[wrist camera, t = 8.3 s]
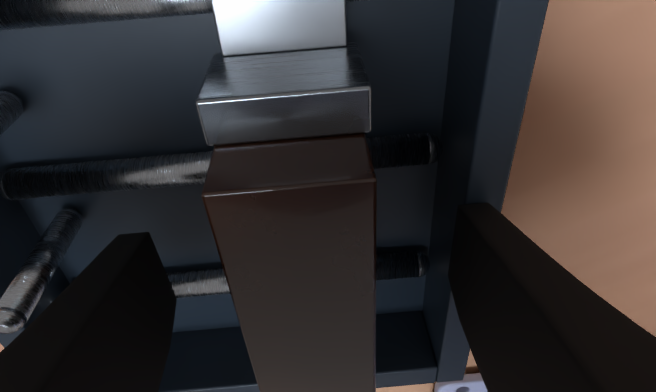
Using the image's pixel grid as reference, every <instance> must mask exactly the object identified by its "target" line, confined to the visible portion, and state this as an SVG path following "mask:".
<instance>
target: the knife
mask: <svg viewBox="0 0 656 392" xmlns="http://www.w3.org/2000/svg"><path fill="white" fill-rule="evenodd" d="M210 1H211V6H212V10H213V15H214V20H215V25H216V29H217V34H218V39H219V44H220V48H221V53H215V54H214V55H213V57H212V60H211V62H210V65H209V67H208V70H207V73H206V75H205V78H204V80H203V83H202V85H201V88H200V90H199V93H198V95H197V98H196V100H195V105H196V109H197V112H198V116H199V120H200V124H201V127H202V131H203V135H204V139H205V142H206V144H207V146H214V149H213V153H212V157H211V160H210V164H209V168H208V171H207V175H206V179H205V182H204V186H203V190H202V194H201V197H202V200H203V203H204V207H205V210H206V213H207V217H208V220H209V223H210V227H211V230H212V233H213V237H214V240H215V243H216V247H217V250H218V254H219V257H220V260H221V264H222V267H223V270H224V274H225V277H226V280H227V284H228V287H229V290H230V294H231V297H232V300H233V304H234V307H235V310H236V314H237V317H238V320H239V324H240V327H241V331H242V334H243V337H244V341H245V344H246V347H247V351H248V354H249V357H250V361H251V364H252V367H253V371H254V374H255V377H256V381H257V384H258V387H259V391H260V392H376V218H377V179H376V176H375V172H374V168H373V164H372V160H371V156H370V152H369V148H368V144H367V140H366V136H365V133H369V132H371V129H372V88H371V85H370V82H369V79H368V76H367V72H366V69H365V66H364V63H363V60H362V57H361V54H360V51H359V48H358V45H357V43H356V42H347V26H346V0H210Z"/></svg>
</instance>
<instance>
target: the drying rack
mask: <svg viewBox="0 0 656 392" xmlns="http://www.w3.org/2000/svg"><path fill="white" fill-rule="evenodd" d="M548 2H549V0H346V26H347V42H356V43H357V45H358V48H359V51H360V54H361V57H362V60H363V63H364V66H365V69H366V72H367V76H368V79H369V82H370V85H371V88H372V129H371V132H369V133H365V136H366V140H367V144H368V148H369V152H370V156H371V160H372V164H373V168H374V172H375V176H376V179H377V218H376V388H382V387H393V386H404V385H415V384H426V383H434V382H438V383H440V382H451V381H462V380H463V378H464V373H465V369H466V365H467V360H468V356H469V351H470V346H469V344H468V341H467V339H466V336H465V334H464V331H463V328H462V326H461V323H460V320H459V317H458V313H457V310H456V306H455V302H454V299H453V295H452V291H451V287H450V283H449V279H448V269H449V262H450V256H451V249H452V242H453V235H454V228H455V222H456V215H457V208H458V205H465V204H477V203H489V204H491V205H492V206H493V207H494V208H495V209H496V210H498V211H499V212H500V213H501V210H502V205H503V201H504V197H505V192H506V188H507V183H508V179H509V174H510V170H511V166H512V161H513V157H514V152H515V148H516V144H517V139H518V135H519V130H520V126H521V121H522V117H523V113H524V108H525V104H526V99H527V95H528V91H529V86H530V82H531V77H532V73H533V68H534V64H535V60H536V55H537V51H538V46H539V42H540V37H541V33H542V29H543V24H544V20H545V15H546V11H547V7H548ZM215 53H221V48H220V44H219V39H218V34H217V29H216V25H215V20H214V15H213V10H212V6H211V1H210V0H0V343H1V344H2V345H3V347H4V348H6V347H7V346H8V345H9V344H10V343H11V342H12V341H13V340H14V339H15V338H16V337H17V336H18V335H19V334H20V333H21V332H23V331H24V330H25V329H26V328H27V327H28V326H29V325H30V324H31V323H32V322H33V321H34V320H35V319H36V318H37V317H38V316H39V315H40V314H41V313H42V312H43V311H44V310H45V309H46V308H47V307H48V306H49V305H50V304H51V303H52V302H53V301H54V300H55V299H56V298H57V297H58V296H59V295H60V294H61V293H62V292H63V291H64V290H65V289H66V288H67V287H68V286H69V285H70V284H71V283H72V281H73V280H74V279H75V278H76V277H77V276H78V275H79V274H80V273H81V272H82V271H83V270H84V269H85V268H86V267H87V266H88V265H89V264H90V263H91V262H92V261H93V260H94V259H95V258H96V257H97V256H98V254H99V253H100V252H101V251H102V250H103V249H104V248H105V247H106V246H107V245H108V244H109V243H110V242H111V241H112V240H113V239H114V238H116V237H117V236H118V235H119V234H129V233H141V232H149V233H150V235H151V238H152V240H153V242H154V245H155V247H156V250H157V252H158V254H159V257H160V259H161V262H162V264H163V266H164V269H165V271H166V274H167V276H168V279H169V281H170V283H171V286H172V288H173V291H174V293H175V295H176V298H177V302H176V310H175V318H174V326H173V332H172V338H171V345H170V349H169V353H168V357H167V361H166V364H165V368H164V372H163V375H162V379H161V383H160V386H159V390H158V392H260V391H259V387H258V384H257V381H256V377H255V374H254V371H253V367H252V364H251V361H250V357H249V354H248V351H247V347H246V344H245V341H244V337H243V334H242V331H241V327H240V324H239V320H238V317H237V314H236V310H235V307H234V304H233V300H232V297H231V294H230V290H229V287H228V284H227V280H226V277H225V274H224V270H223V267H222V264H221V260H220V257H219V254H218V250H217V247H216V243H215V240H214V237H213V233H212V230H211V227H210V223H209V220H208V217H207V213H206V210H205V207H204V203H203V200H202V197H201V194H202V190H203V186H204V182H205V179H206V175H207V171H208V168H209V164H210V160H211V157H212V153H213V149H214V146H207V144H206V142H205V139H204V135H203V131H202V127H201V124H200V120H199V116H198V112H197V109H196V105H195V100H196V98H197V95H198V93H199V90H200V88H201V85H202V83H203V80H204V78H205V75H206V73H207V70H208V67H209V65H210V62H211V60H212V57H213V55H214V54H215Z"/></svg>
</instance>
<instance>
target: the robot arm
mask: <svg viewBox="0 0 656 392" xmlns="http://www.w3.org/2000/svg"><path fill="white" fill-rule="evenodd" d="M448 279H449V283H450V287H451V291H452V295H453V299H454V302H455V306H456V310H457V313H458V317H459V320H460V323H461V326H462V328H463V331H464V334H465V336H466V339H467V341H468V344H469V346H470V349H471V351H472V354H473V357H474V359H475V362H476V364H477V367H478V369H479V372H480V373H473V374H464V378H463V380H462V381H451V382H440V383H438V382H436V383H435V388H434V392H656V337H655V336H653V335H652V334H650V333H649V332H647V331H646V330H645V329H643V328H642V327H640V326H639V325H637V324H636V323H635V322H633V321H632V320H631V319H629V318H628V317H627V316H625V315H624V314H623V313H621V312H620V311H619V310H617V309H616V308H614V307H613V306H612V305H610V304H609V303H608V302H606V301H605V300H604V299H602V298H601V297H600V296H598V295H597V294H596V293H595V292H593V291H592V290H591V289H590V288H588V287H587V286H586V285H584V284H583V283H582V282H581V281H579V280H578V279H577V278H576V277H574V276H573V275H572V274H571V273H569V272H568V271H567V270H566V269H565V268H563V267H562V266H561V265H560V264H559V263H557V262H556V261H555V260H554V259H553V258H551V257H550V256H549V255H548V254H547V253H546V252H544V251H543V250H542V249H541V248H540V247H539V246H537V245H536V244H535V243H534V242H533V241H532V240H531V239H529V238H528V237H527V236H526V235H525V234H524V233H523V232H521V231H520V230H519V229H518V228H517V227H516V226H515V225H513V224H512V223H511V222H510V221H509V220H508V219H507V218H506V217H504V216H503V215H502V214H501V213H500V212H499V211H498V210H496V209H495V208H494V207H493V206H492V205H491V204H489V203H477V204H465V205H458V208H457V215H456V222H455V228H454V235H453V242H452V249H451V256H450V262H449V269H448ZM176 302H177V298H176V295H175V293H174V291H173V288H172V286H171V283H170V281H169V279H168V276H167V274H166V271H165V269H164V266H163V264H162V262H161V259H160V257H159V254H158V252H157V250H156V247H155V245H154V242H153V240H152V238H151V235H150V233H149V232H141V233H129V234H119V235H118V236H117V237H116V238H114V239H113V240H112V241H111V242H110V243H109V244H108V245H107V246H106V247H105V248H104V249H103V250H102V251H101V252H100V253H99V254H98V256H97V257H96V258H95V259H94V260H93V261H92V262H91V263H90V264H89V265H88V266H87V267H86V268H85V269H84V270H83V271H82V272H81V273H80V274H79V275H78V276H77V277H76V278H75V279H74V280H73V281H72V283H71V284H70V285H69V286H68V287H67V288H66V289H65V290H64V291H63V292H62V293H61V294H60V295H59V296H58V297H57V298H56V299H55V300H54V301H53V302H52V303H51V304H50V305H49V306H48V307H47V308H46V309H45V310H44V311H43V312H42V313H41V314H40V315H39V316H38V317H37V318H36V319H35V320H34V321H33V322H32V323H31V324H30V325H29V326H28V327H27V328H26V329H25V330H24V331H23V332H21V333H20V334H19V335H18V336H17V337H16V338H15V339H14V340H13V341H12V342H11V343H10V344H9V345H8V346H7V347H6V348H5V349H3V350H2V351H1V352H0V392H158V390H159V386H160V383H161V379H162V375H163V372H164V368H165V364H166V361H167V357H168V353H169V349H170V345H171V338H172V332H173V326H174V318H175V310H176Z"/></svg>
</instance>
